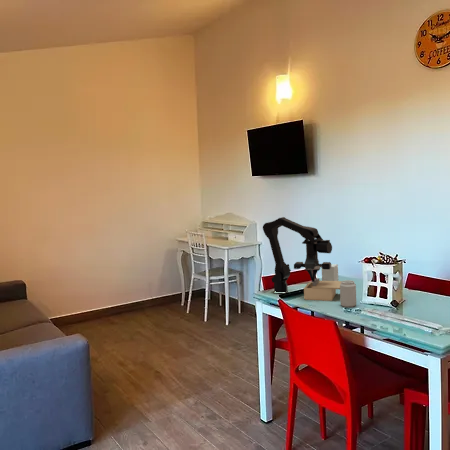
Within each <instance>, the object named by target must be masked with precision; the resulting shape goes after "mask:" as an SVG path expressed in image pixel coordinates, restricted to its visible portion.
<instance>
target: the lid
mask: <svg viewBox="0 0 450 450" xmlns="http://www.w3.org/2000/svg"><path fill="white" fill-rule="evenodd" d="M340 284H341V280H339V281H322V280H320V278H319V277H315V280H314V281H313V286H312V289H336V290H340Z"/></svg>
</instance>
